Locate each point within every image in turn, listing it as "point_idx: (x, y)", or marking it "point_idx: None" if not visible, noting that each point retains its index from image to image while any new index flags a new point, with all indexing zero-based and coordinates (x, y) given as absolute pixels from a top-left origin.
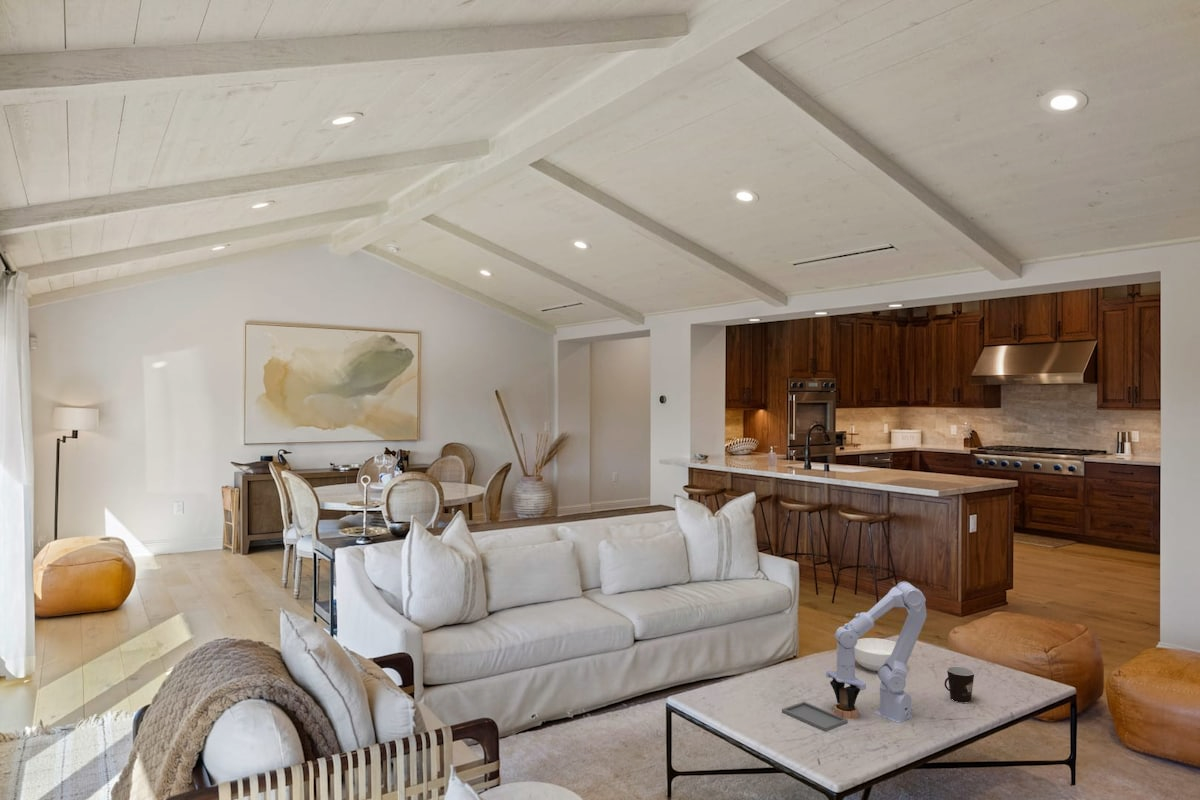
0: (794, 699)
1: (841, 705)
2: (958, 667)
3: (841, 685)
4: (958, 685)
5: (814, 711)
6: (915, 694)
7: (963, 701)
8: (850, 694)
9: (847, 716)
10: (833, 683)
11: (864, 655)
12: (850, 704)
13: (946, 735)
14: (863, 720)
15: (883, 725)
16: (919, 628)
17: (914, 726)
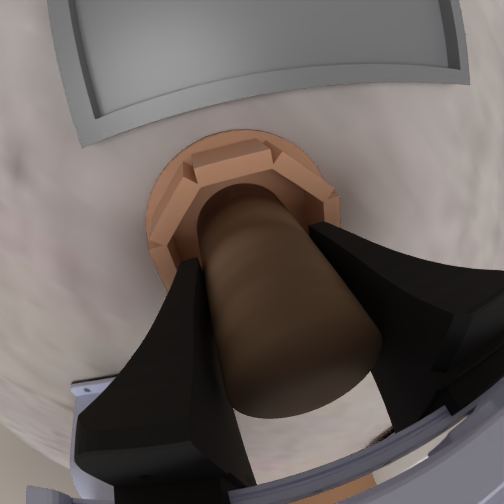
0: (497, 109)
1: (254, 216)
2: None
3: (394, 375)
4: None
5: (366, 39)
6: (273, 461)
7: None
8: (133, 369)
9: (164, 195)
10: (485, 307)
11: (440, 437)
12: (173, 282)
13: (6, 419)
14: (126, 278)
15: (55, 331)
16: None
17: (54, 404)
